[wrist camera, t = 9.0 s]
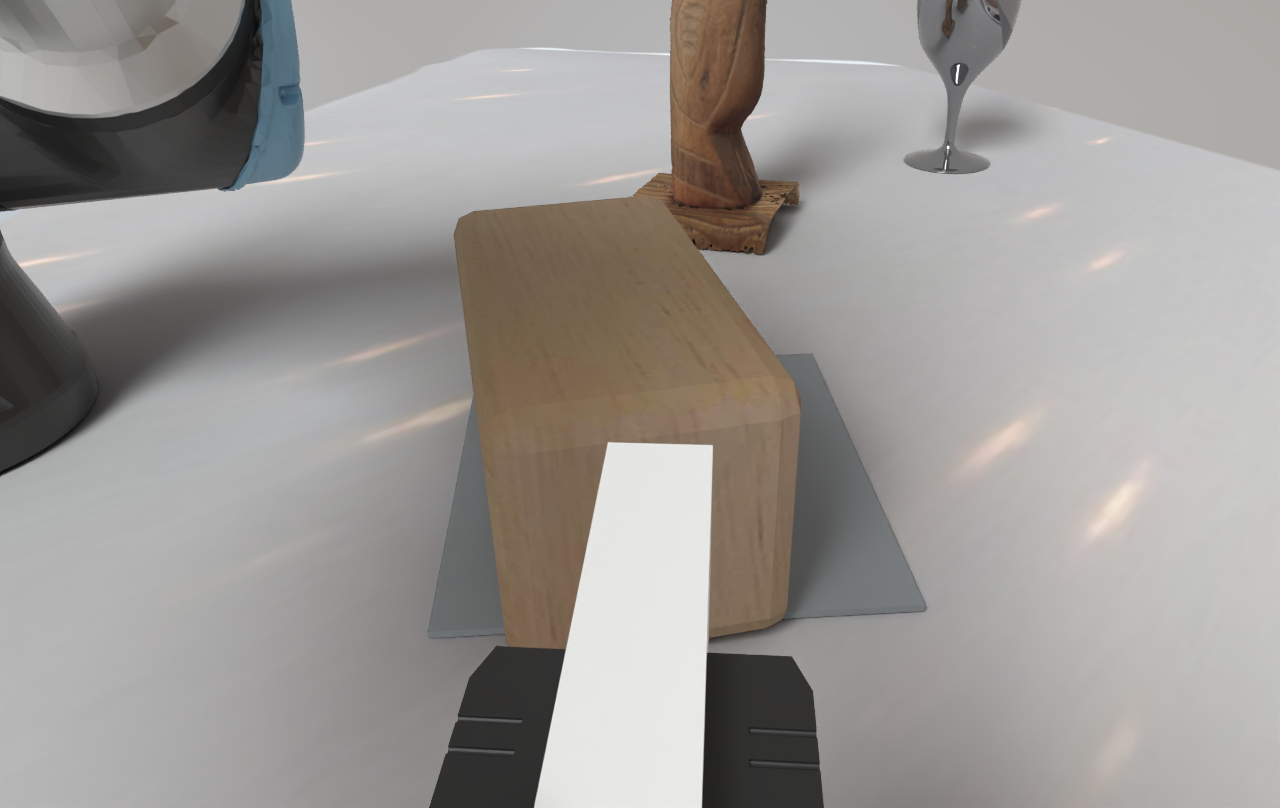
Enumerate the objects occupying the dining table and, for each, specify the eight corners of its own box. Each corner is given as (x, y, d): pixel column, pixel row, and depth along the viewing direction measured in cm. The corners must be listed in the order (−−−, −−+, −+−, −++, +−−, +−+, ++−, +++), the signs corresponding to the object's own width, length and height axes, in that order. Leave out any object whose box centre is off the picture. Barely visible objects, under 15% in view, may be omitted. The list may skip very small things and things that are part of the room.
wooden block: (795, 635, 34) (665, 372, 51) (815, 386, 29) (663, 187, 46) (511, 684, 32) (474, 396, 49) (479, 430, 27) (450, 206, 44)
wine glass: (945, 180, 79) (973, -19, 71) (879, 157, 85) (898, -29, 77) (1015, 165, 82) (1049, -28, 75) (947, 143, 88) (972, -37, 81)
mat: (479, 373, 52) (478, 368, 52) (811, 358, 53) (812, 353, 52) (429, 638, 35) (427, 631, 35) (924, 611, 35) (925, 604, 35)
